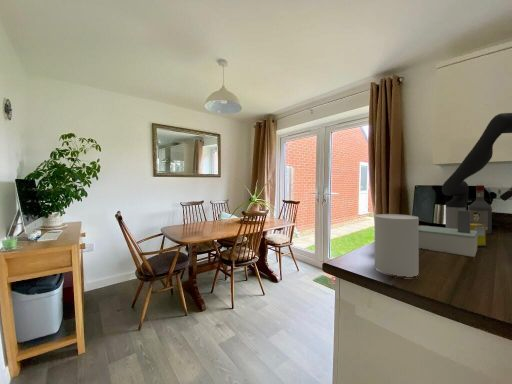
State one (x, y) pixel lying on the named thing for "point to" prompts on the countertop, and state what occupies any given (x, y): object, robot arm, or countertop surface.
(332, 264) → the countertop surface
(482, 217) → the liquor
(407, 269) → the canister
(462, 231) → the carton lid
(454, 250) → the carton
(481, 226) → the supplement box
